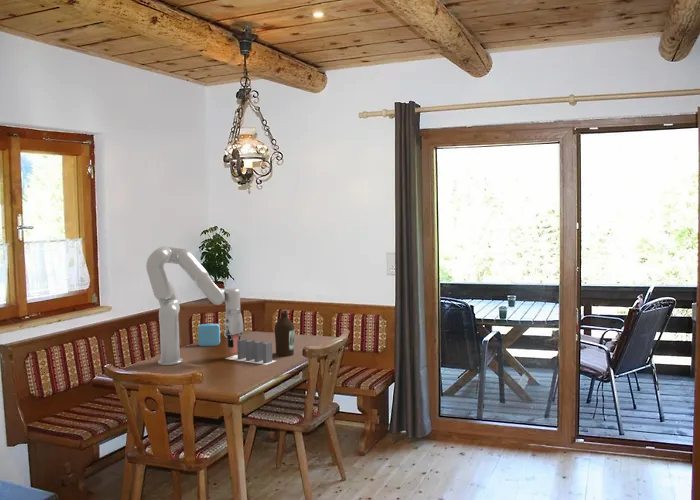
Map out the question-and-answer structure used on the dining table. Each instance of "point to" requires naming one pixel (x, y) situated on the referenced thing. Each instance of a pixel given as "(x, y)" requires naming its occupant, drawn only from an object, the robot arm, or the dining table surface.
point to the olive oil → (284, 336)
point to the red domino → (234, 343)
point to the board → (247, 361)
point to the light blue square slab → (209, 334)
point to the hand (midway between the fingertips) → (234, 345)
